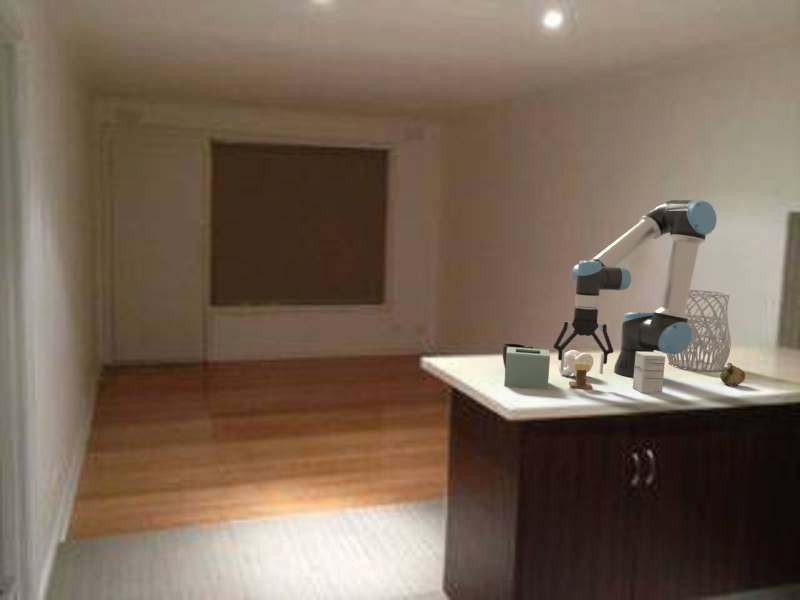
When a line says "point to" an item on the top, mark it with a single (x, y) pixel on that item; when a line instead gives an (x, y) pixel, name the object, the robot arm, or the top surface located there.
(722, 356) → the vase
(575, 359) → the white knot sculpture
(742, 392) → the top surface
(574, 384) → the token stand
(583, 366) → the panel
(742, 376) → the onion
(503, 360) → the mug
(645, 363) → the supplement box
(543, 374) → the box
